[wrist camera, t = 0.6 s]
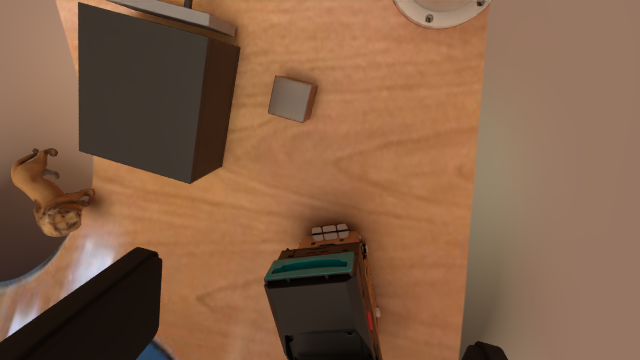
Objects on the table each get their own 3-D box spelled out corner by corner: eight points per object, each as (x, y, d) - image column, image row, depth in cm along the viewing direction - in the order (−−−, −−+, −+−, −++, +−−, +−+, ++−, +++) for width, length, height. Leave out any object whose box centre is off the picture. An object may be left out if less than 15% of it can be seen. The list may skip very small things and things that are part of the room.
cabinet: (136, 19, 40) (77, 1, 32) (240, 47, 39) (208, 36, 31) (130, 139, 45) (78, 151, 37) (222, 166, 44) (190, 184, 36)
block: (284, 76, 39) (275, 75, 35) (317, 85, 39) (312, 85, 35) (277, 110, 41) (267, 113, 36) (309, 119, 40) (303, 123, 36)
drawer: (139, -52, 36) (90, -82, 30) (243, -25, 36) (217, -50, 29) (130, 119, 43) (89, 125, 37) (218, 145, 42) (192, 155, 36)
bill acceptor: (361, 207, 43) (358, 353, 19) (386, 337, 49) (407, 569, 25) (291, 218, 45) (211, 361, 21) (323, 341, 51) (288, 560, 27)
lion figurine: (117, 203, 49) (65, 228, 40) (101, 223, 50) (47, 250, 42) (44, 137, 47) (-27, 148, 38) (30, 160, 48) (-41, 175, 40)
